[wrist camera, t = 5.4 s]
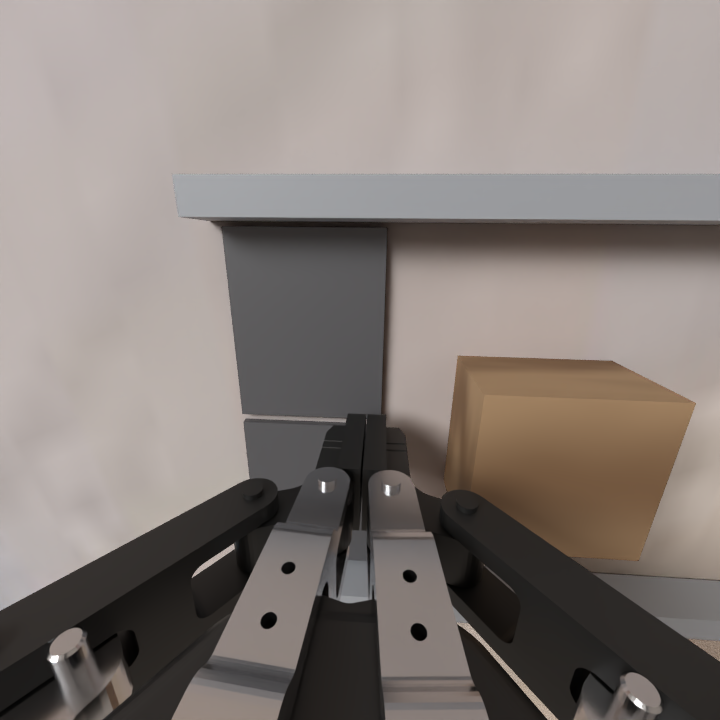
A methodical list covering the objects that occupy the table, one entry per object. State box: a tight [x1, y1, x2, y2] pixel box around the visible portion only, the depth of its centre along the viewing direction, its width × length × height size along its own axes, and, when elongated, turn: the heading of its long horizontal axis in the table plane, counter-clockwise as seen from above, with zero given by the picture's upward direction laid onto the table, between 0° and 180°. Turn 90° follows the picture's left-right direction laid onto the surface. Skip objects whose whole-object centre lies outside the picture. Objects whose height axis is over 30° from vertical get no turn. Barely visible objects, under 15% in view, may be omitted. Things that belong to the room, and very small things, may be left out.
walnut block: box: [444, 356, 696, 561], centre depth 13 cm, size 6×6×4 cm
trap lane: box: [172, 174, 720, 641], centre depth 13 cm, size 19×34×2 cm, turn 89°
